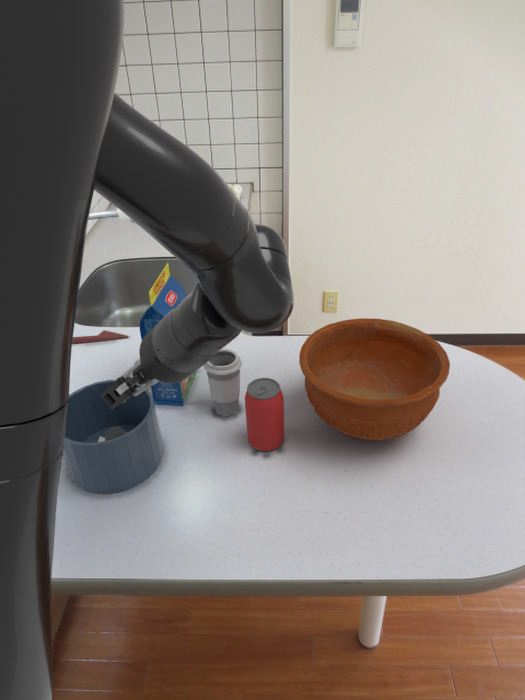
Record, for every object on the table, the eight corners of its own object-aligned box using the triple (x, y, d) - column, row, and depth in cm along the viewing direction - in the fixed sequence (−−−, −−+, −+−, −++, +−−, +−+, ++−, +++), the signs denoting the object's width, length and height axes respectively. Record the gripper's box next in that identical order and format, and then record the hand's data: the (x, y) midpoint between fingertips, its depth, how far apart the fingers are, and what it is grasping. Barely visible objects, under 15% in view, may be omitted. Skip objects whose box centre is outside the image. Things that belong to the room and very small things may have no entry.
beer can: (240, 443, 94) (235, 390, 87) (262, 422, 98) (260, 371, 91) (269, 458, 90) (267, 405, 83) (291, 436, 94) (291, 384, 88)
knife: (7, 340, 125) (0, 350, 121) (5, 334, 124) (-2, 343, 120) (131, 332, 128) (128, 341, 124) (130, 325, 127) (127, 335, 123)
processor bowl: (119, 508, 83) (104, 459, 76) (48, 472, 90) (30, 424, 83) (181, 443, 94) (173, 396, 88) (114, 415, 101) (102, 370, 95)
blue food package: (198, 369, 112) (184, 262, 98) (184, 406, 103) (166, 293, 89) (170, 368, 113) (152, 261, 99) (153, 404, 103) (130, 292, 89)
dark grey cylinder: (126, 471, 89) (127, 459, 81) (91, 461, 89) (89, 448, 80) (138, 438, 92) (140, 423, 83) (104, 428, 91) (103, 412, 83)
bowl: (458, 411, 98) (473, 345, 90) (394, 495, 83) (405, 424, 74) (345, 365, 112) (349, 304, 103) (272, 430, 96) (269, 363, 88)
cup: (202, 413, 101) (195, 363, 94) (219, 393, 105) (214, 344, 99) (234, 424, 98) (230, 372, 91) (251, 402, 103) (247, 352, 96)
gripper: (200, 294, 69) (151, 342, 81) (118, 346, 59) (76, 391, 71) (235, 340, 69) (181, 380, 81) (160, 398, 59) (111, 435, 72)
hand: (132, 386), depth 76 cm, fingers open, 8 cm apart
